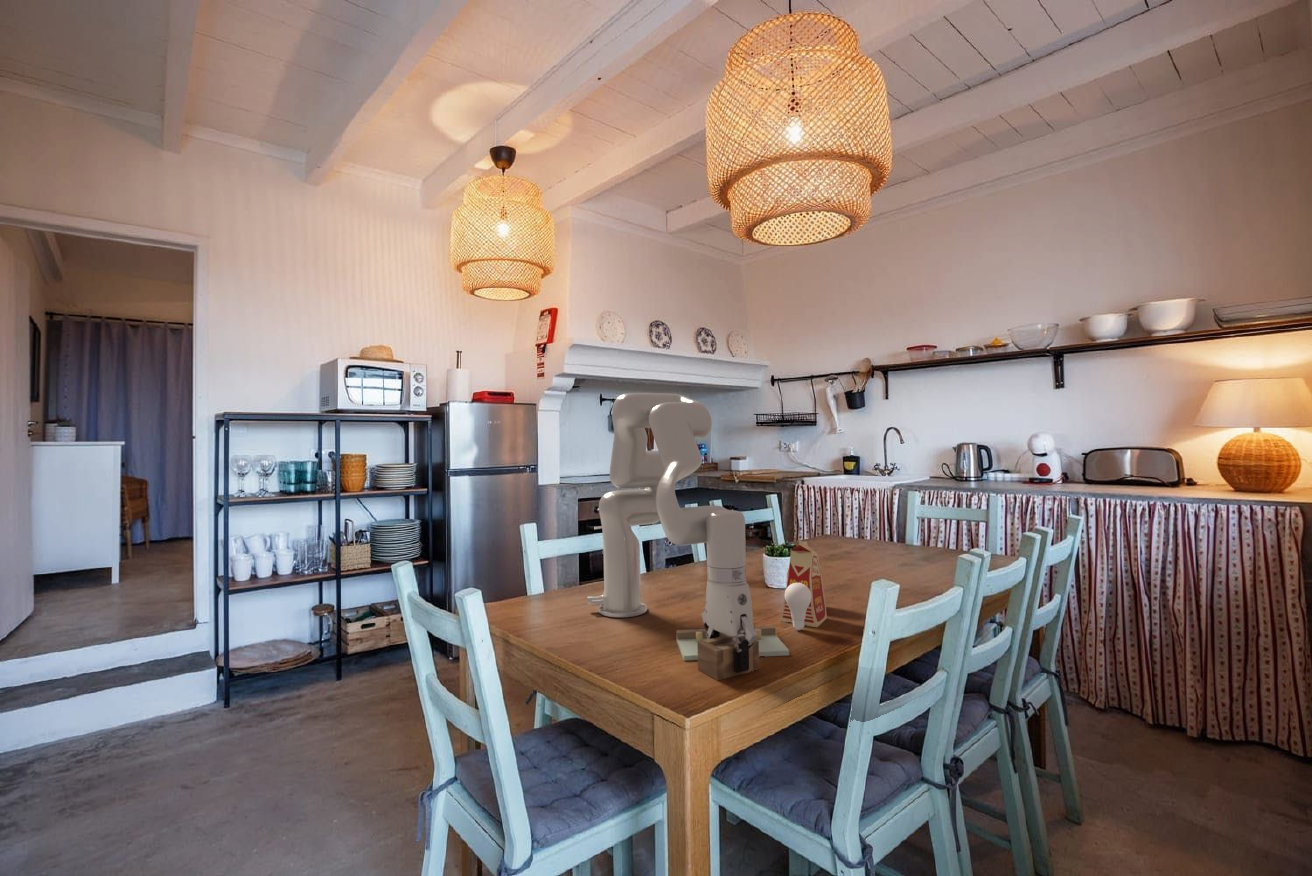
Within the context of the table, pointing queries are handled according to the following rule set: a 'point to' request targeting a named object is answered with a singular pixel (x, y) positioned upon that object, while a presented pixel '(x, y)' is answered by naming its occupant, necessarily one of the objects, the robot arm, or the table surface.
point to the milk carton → (809, 574)
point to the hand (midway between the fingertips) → (728, 663)
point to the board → (764, 647)
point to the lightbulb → (798, 603)
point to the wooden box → (723, 657)
